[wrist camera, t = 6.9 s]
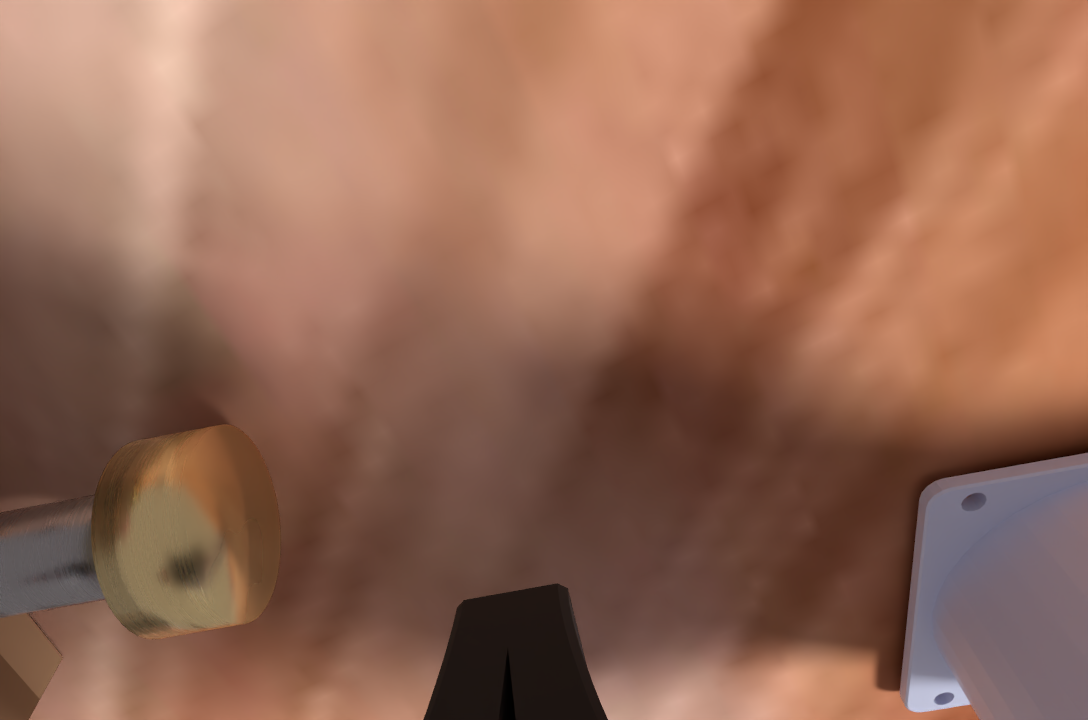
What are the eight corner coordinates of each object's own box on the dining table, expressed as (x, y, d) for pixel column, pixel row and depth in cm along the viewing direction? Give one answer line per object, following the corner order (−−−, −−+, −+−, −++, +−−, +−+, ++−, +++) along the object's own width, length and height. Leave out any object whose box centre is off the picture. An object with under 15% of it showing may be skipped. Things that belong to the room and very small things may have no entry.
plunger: (228, 387, 14) (159, 519, 11) (294, 523, 16) (249, 667, 13) (-190, 466, 14) (-362, 614, 11) (-78, 590, 16) (-202, 746, 13)
